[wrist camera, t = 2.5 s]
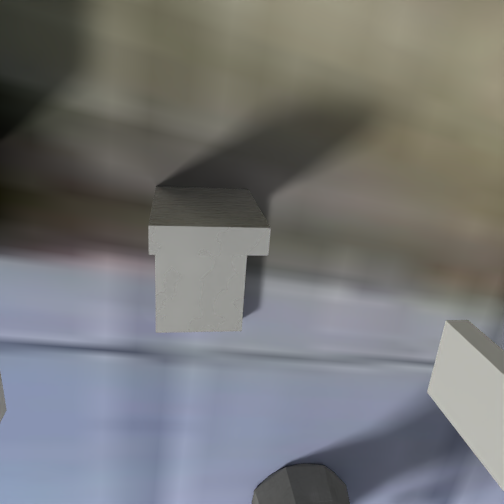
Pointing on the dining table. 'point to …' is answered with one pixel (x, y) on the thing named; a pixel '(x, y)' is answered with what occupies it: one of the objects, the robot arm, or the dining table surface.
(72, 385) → the dining table surface
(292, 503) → the coffeepot
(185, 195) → the aluminium bracket
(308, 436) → the dining table surface
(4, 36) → the dining table surface
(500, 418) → the robot arm
